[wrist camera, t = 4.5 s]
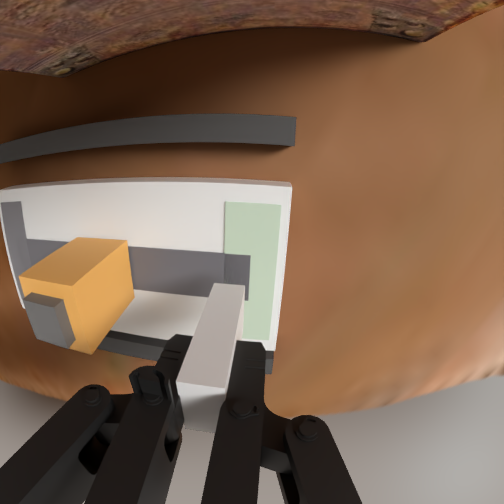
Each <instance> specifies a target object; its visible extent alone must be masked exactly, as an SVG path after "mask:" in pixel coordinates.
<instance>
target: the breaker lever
mask: <svg viewBox="0 0 504 504" xmlns="http://www.w3.org/2000/svg"><path fill="white" fill-rule="evenodd" d="M19 280H20V283H21V287H22V290H23V294H24V297H25V298H24V299H22V300H23V303H24V306H25V309H26V312H27V315H28V318H29V320H30V323H31V326H32V328H33V331H34V334H35V336H36V339H39V340H42V341H45V342H48V343H51V344H54V345H57V346H60V347H63V348H66V349H69V348H70V349H73V350H76V351H80V352H83V353H87V354H91V355H92V354H93V353H94V351H95V350H96V349H97V347H98V346H99V344H100V343H101V342H102V340H103V339H104V337H105V336H106V335H107V333H108V332H109V331H110V329H111V328H112V327H113V325H114V324H115V323H116V321H117V320H118V319H119V317H120V316H121V315H122V313H123V312H124V311H125V309H126V308H127V307H128V305H129V304H130V303H131V302H132V300H133V299H134V298H135V296H134V290H133V283H132V276H131V268H130V260H129V252H128V243H127V240H116V239H100V238H84V237H77V238H75V239H73V240H72V241H70V242H69V243H67V244H65V245H64V246H62V247H61V248H59V249H58V250H56V251H55V252H53V253H51V254H50V255H48V256H47V257H45V258H44V259H42V260H41V261H39V262H38V263H37V264H35V265H34V266H32V267H31V268H29V269H28V270H26V271H25V272H24V273H22V274H21V275H19Z"/></svg>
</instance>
